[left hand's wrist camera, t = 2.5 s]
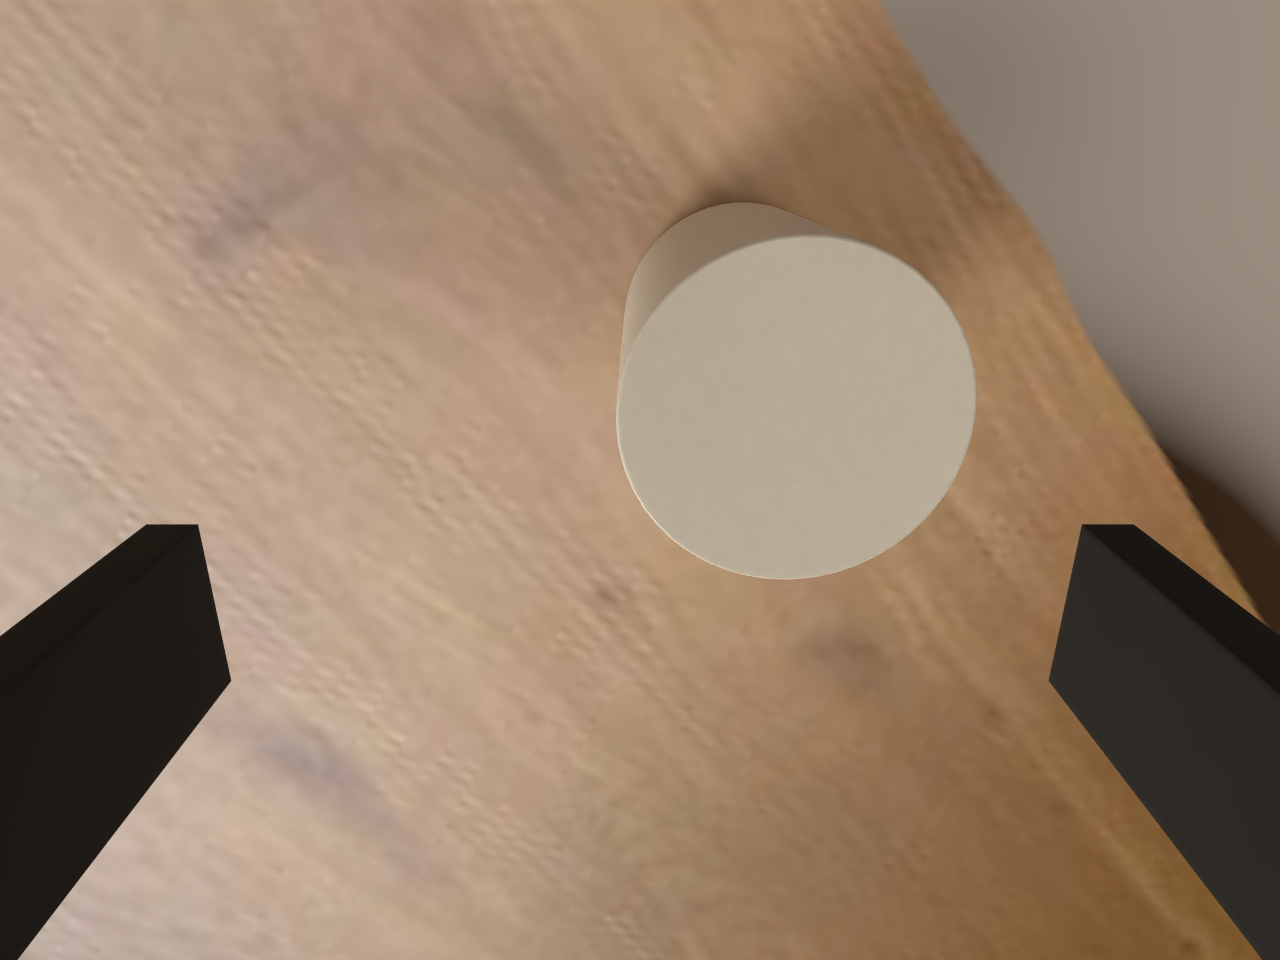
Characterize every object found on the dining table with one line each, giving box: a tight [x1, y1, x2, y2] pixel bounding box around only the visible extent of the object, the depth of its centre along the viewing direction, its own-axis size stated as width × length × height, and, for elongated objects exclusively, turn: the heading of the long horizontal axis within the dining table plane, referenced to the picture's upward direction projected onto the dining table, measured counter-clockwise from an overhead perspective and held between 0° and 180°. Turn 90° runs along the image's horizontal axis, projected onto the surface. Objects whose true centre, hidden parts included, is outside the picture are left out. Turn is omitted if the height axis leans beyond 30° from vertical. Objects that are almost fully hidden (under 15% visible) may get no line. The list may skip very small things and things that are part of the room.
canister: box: [616, 202, 977, 579], centre depth 25 cm, size 8×8×12 cm
